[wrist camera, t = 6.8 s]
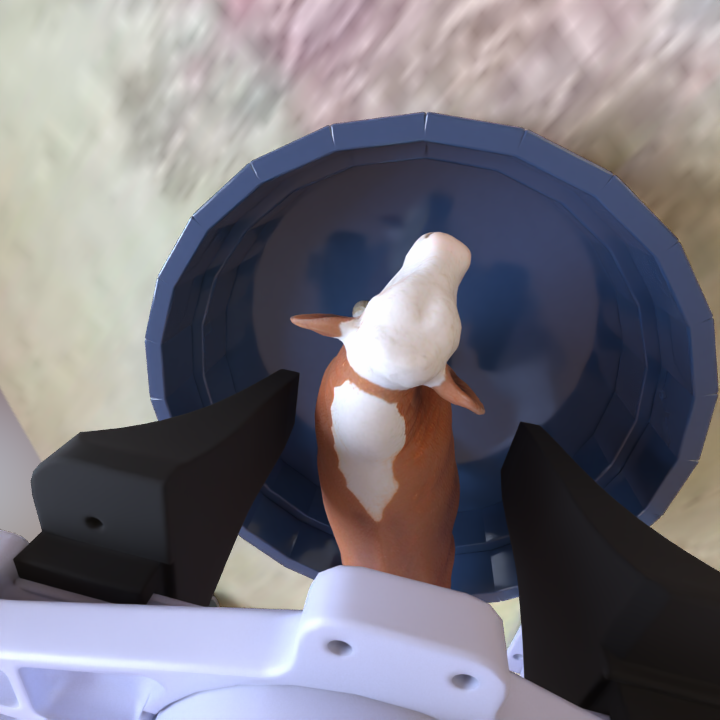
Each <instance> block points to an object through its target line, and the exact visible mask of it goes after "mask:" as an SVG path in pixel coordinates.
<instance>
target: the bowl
mask: <svg viewBox="0 0 720 720" xmlns="http://www.w3.org/2000/svg"><path fill="white" fill-rule="evenodd" d="M431 232H442V233H446V234H448V235H451V236H452V237H454V238H456V239H457V240H459V241H460V242H462V243H463V244H464V245H465V246H467V248H468V249H469V250H470V252H471V263H470V266H469V269H468V270H467V271H466V273H465V275H464V277H463V279H462V281H461V283H460V284H459V286H458V290H457V310H458V314H459V317H460V320H461V327H462V329H461V335H460V341H459V346H458V347H457V349H456V351H455V352H454V353H453V354H452V356H451V357H450V358H449V360H448V361H447V364H448V365H449V366H450V367H451V368H452V370H453V371H454V372H455V374H456V375H457V376H458V377H459V378H460V379H461V380H463V381H464V382H465V383H466V384H467V385H468V386H469V387H470V388H471V389H472V390H473V392H474V393H475V394H476V396H477V397H478V398H479V400H480V402H481V403H482V404H483V406H484V409H485V413H484V414H482V415H478V414H476V413H474V412H472V411H471V410H469V409H467V408H465V407H462V406H458V405H455V404H452V403H451V409H452V432H453V438H454V451H455V461H456V465H457V469H458V475H459V483H460V499H459V507H458V511H457V516H456V519H455V522H454V526H453V530H452V534H453V537H454V543H455V556H454V564H453V568H452V575H451V588H450V589H452V590H456V591H460V592H464V593H467V594H469V595H471V596H473V597H476V598H478V599H480V600H482V601H484V602H486V603H492V602H500V600H501V601H505V600H509V599H512V598H516V597H519V590H518V579H517V572H516V566H515V561H514V556H513V551H512V546H511V541H510V536H509V532H508V527H507V522H506V517H505V512H504V507H503V501H502V491H501V468H502V466H503V463H504V461H505V458H506V456H507V453H508V451H509V448H510V446H511V444H512V441H513V439H514V436H515V434H516V431H517V429H518V426H519V424H520V421H522V422H526V423H531V424H535V425H540V426H541V427H542V428H543V429H544V430H545V431H546V432H547V433H548V434H549V435H550V436H551V437H552V438H553V439H554V440H555V441H556V442H557V443H558V444H559V445H560V446H561V447H562V448H563V449H564V450H565V452H566V453H567V454H568V455H569V456H570V457H571V458H572V459H573V460H574V461H575V462H576V463H577V464H578V465H579V466H580V467H581V468H582V469H583V470H584V471H585V472H586V473H587V474H588V475H589V476H590V477H591V478H592V479H593V480H594V481H595V482H596V483H597V484H598V485H599V486H601V487H602V488H603V489H604V490H605V491H606V492H607V493H608V494H609V495H610V496H612V497H613V498H614V499H615V500H616V501H617V502H619V503H620V504H621V505H622V506H623V507H625V508H626V509H627V510H628V511H630V512H631V513H632V514H633V515H635V516H636V517H637V518H638V519H640V520H641V521H642V522H644V523H645V524H646V525H648V526H649V527H650V526H651V525H652V524H653V523H654V522H656V521H657V520H658V519H659V518H660V517H661V516H662V515H663V514H664V513H665V511H666V510H667V508H668V507H669V505H670V504H671V502H672V501H673V499H674V498H675V496H676V495H677V493H678V492H679V491H680V489H681V488H682V486H683V485H684V483H685V482H686V480H687V479H688V477H689V476H690V474H691V473H692V471H693V470H694V468H695V467H696V465H697V464H698V460H699V459H700V456H701V453H702V449H703V446H704V442H705V439H706V435H707V432H708V428H709V425H710V422H711V418H712V415H713V411H714V408H715V404H716V401H717V397H718V394H717V393H718V377H717V361H716V345H715V329H714V319H713V318H712V317H713V314H712V312H711V310H710V308H709V305H708V303H707V301H706V299H705V297H704V294H703V292H702V290H701V288H700V285H699V283H698V281H697V279H696V276H695V274H694V272H693V270H692V268H691V265H690V263H689V261H688V259H687V256H686V254H685V252H684V250H683V248H682V245H681V243H680V242H678V238H677V237H676V236H675V235H674V234H673V233H672V232H671V231H670V230H669V229H668V228H667V227H666V226H665V225H664V224H663V223H662V222H661V221H660V220H659V219H658V218H657V217H656V216H655V215H654V214H653V212H652V211H651V210H650V209H649V208H648V207H647V206H646V205H645V204H644V203H643V202H642V201H641V200H640V199H639V198H638V197H637V196H636V195H635V194H634V193H633V192H632V191H631V190H630V189H629V188H628V187H627V186H626V185H625V184H624V183H623V182H622V181H621V179H620V178H619V177H618V176H616V175H613V173H612V172H610V171H608V170H607V169H605V168H603V167H601V166H599V165H597V164H595V163H593V162H591V161H589V160H587V159H585V158H583V157H581V156H579V155H577V154H575V153H573V152H571V151H570V150H568V149H566V148H564V147H562V146H560V145H558V144H556V143H554V142H552V141H550V140H548V139H546V138H544V137H542V136H540V135H538V134H536V133H534V132H533V131H531V130H525V129H524V128H522V127H516V126H510V125H504V124H498V123H492V122H486V121H480V120H474V119H468V118H462V117H456V116H450V115H444V114H439V113H433V112H428V113H427V114H426V113H425V112H419V113H411V114H404V115H396V116H389V117H381V118H374V119H366V120H359V121H351V122H344V123H336V124H332V125H331V126H325V127H323V128H321V129H319V130H317V131H315V132H313V133H310V134H308V135H306V136H304V137H302V138H300V139H297V140H295V141H293V142H291V143H289V144H287V145H285V146H282V147H280V148H278V149H276V150H274V151H272V152H270V153H267V154H265V155H263V156H261V157H259V158H257V159H255V160H252V161H251V163H248V164H247V165H246V166H245V167H244V168H242V169H241V170H240V171H239V172H238V173H237V174H236V175H235V176H234V177H233V178H232V179H231V180H229V181H228V182H227V183H226V184H225V185H224V186H223V187H222V188H221V189H220V190H219V191H218V192H216V193H215V194H214V195H213V196H212V197H211V198H210V199H209V200H208V201H207V202H206V203H205V204H203V205H202V206H201V207H200V208H199V209H198V210H197V211H196V212H195V213H194V214H193V216H192V217H190V219H189V221H188V223H187V225H186V226H185V228H184V230H183V232H182V234H181V235H180V237H179V239H178V241H177V242H176V244H175V246H174V248H173V250H172V251H171V253H170V255H169V257H168V259H167V260H166V262H165V264H164V266H163V268H162V269H161V271H160V273H159V275H158V278H157V282H156V287H155V292H154V296H153V301H152V306H151V311H150V316H149V321H148V326H147V331H146V336H145V338H146V340H145V347H146V359H147V370H148V381H149V393H150V397H151V402H152V405H153V408H154V410H155V413H156V416H157V419H158V421H161V420H164V419H168V418H172V417H175V416H179V415H183V414H186V413H189V412H192V411H195V410H198V409H201V408H204V407H207V406H209V405H212V404H214V403H216V402H219V401H221V400H223V399H225V398H227V397H229V396H232V395H234V394H236V393H238V392H240V391H242V390H244V389H246V388H248V387H250V386H251V385H253V384H255V383H257V382H259V381H261V380H262V379H264V378H266V377H268V376H269V375H271V374H273V373H275V372H277V371H278V370H280V369H286V370H290V371H295V372H299V373H300V376H299V386H298V395H297V405H296V415H295V424H294V426H293V429H292V431H291V434H290V436H289V439H288V441H287V443H286V446H285V448H284V450H283V452H282V453H281V455H280V457H279V459H278V460H277V462H276V464H275V466H274V467H273V469H272V471H271V472H270V474H269V476H268V478H267V479H266V481H265V483H264V484H263V486H262V488H261V490H260V491H259V493H258V495H257V496H256V498H255V500H254V502H253V504H252V506H251V508H250V509H249V511H248V514H247V516H246V518H245V520H244V523H243V525H242V527H241V529H240V532H239V534H238V535H239V536H240V537H241V538H243V539H244V540H246V541H247V542H249V543H250V544H252V545H253V546H255V547H256V548H258V549H259V550H261V551H262V552H264V553H265V554H267V555H268V556H269V557H271V558H272V559H274V560H275V561H277V562H278V563H280V564H281V565H283V566H284V567H286V568H289V569H291V570H293V571H295V572H298V573H300V574H302V575H304V576H307V577H309V578H311V579H313V580H315V578H316V576H317V575H318V573H320V572H323V571H325V570H328V569H331V568H333V567H336V566H339V565H342V560H341V553H340V550H339V547H338V544H337V542H336V539H335V536H334V534H333V531H332V528H331V526H330V523H329V520H328V517H327V514H326V511H325V507H324V503H323V498H322V492H321V486H320V480H319V474H318V467H317V454H318V446H317V439H316V432H315V409H316V403H317V397H318V393H319V389H320V385H321V381H322V378H323V375H324V372H325V370H326V369H327V367H328V365H329V364H330V362H331V361H332V360H333V359H334V358H335V357H336V356H337V355H338V353H339V351H340V349H341V348H342V346H343V342H342V341H341V340H339V339H337V338H333V337H328V336H323V335H321V334H319V333H317V332H315V331H312V330H310V329H306V328H302V327H299V326H297V325H295V324H294V323H292V321H291V320H290V318H291V317H292V316H296V315H301V314H334V315H339V316H345V317H353V314H352V312H353V308H354V306H355V304H356V303H357V302H359V301H370V300H371V299H372V298H373V297H374V296H376V295H378V294H380V293H381V292H382V290H383V289H384V288H385V287H386V285H387V284H388V283H389V282H390V281H391V279H392V278H393V277H394V276H395V275H396V274H397V273H398V272H399V271H400V270H401V268H402V267H403V264H404V261H405V257H406V255H407V254H408V252H409V251H410V249H411V248H412V246H413V245H414V243H415V242H416V241H417V240H418V239H419V238H420V237H421V236H422V235H424V234H427V233H431Z"/></svg>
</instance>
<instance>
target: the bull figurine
mask: <svg viewBox="0 0 720 720" xmlns="http://www.w3.org/2000/svg"><path fill="white" fill-rule="evenodd" d="M470 263H471V252H470V250H469V249H468V248H467V246H465V245H464V244H463V243H462V242H460V241H459V240H457V239H456V238H454V237H452V236H451V235H448V234H446V233H442V232H431V233H427V234H424V235H422V236H421V237H420V238H419V239H418V240H417V241H416V242H415V243H414V245H413V246H412V248H411V249H410V251H409V252H408V254H407V255H406V257H405V261H404V264H403V267H402V268H401V270H400V271H399V272H398V273H397V274H396V275H395V276H394V277H393V278H392V279H391V281H390V282H389V283H388V284H387V285H386V287H385V288H384V289H383V290H382V292H381V293H380V294H378V295H376V296H374V297H373V298H372V299H371V300H370V301H359V302H357V303H356V304H355V306H354V308H353V312H352V314H353V317H345V316H339V315H334V314H301V315H296V316H292V317H291V318H290V320H291V321H292V323H294V324H295V325H297V326H299V327H302V328H306V329H310V330H312V331H315V332H317V333H319V334H321V335H323V336H328V337H333V338H337V339H339V340H341V341H342V342H343V346H342V348H341V349H340V351H339V353H338V355H337V356H336V357H335V358H334V359H333V360H332V361H331V362H330V364H329V365H328V367H327V369H326V370H325V372H324V375H323V378H322V381H321V385H320V389H319V393H318V397H317V403H316V409H315V432H316V439H317V446H318V454H317V467H318V474H319V480H320V486H321V492H322V498H323V503H324V507H325V511H326V514H327V517H328V520H329V523H330V526H331V528H332V531H333V534H334V536H335V539H336V542H337V544H338V547H339V550H340V553H341V560H342V565H346V566H360V567H365V568H369V569H373V570H377V571H381V572H385V573H389V574H393V575H397V576H401V577H405V578H409V579H413V580H417V581H420V582H424V583H428V584H432V585H436V586H440V587H444V588H448V589H450V588H451V575H452V568H453V564H454V556H455V543H454V537H453V534H452V530H453V526H454V522H455V519H456V516H457V511H458V507H459V499H460V483H459V475H458V469H457V465H456V461H455V451H454V438H453V432H452V409H451V403H452V404H455V405H458V406H462V407H465V408H467V409H469V410H471V411H472V412H474V413H476V414H478V415H482V414H484V413H485V409H484V406H483V404H482V403H481V402H480V400H479V398H478V397H477V396H476V394H475V393H474V392H473V390H472V389H471V388H470V387H469V386H468V385H467V384H466V383H465V382H464V381H463V380H461V379H460V378H459V377H458V376H457V375H456V374H455V372H454V371H453V370H452V368H451V367H450V366H449V365H448V364H447V361H448V360H449V358H450V357H451V356H452V354H453V353H454V352H455V351H456V349H457V347H458V346H459V341H460V335H461V329H462V327H461V320H460V317H459V314H458V310H457V290H458V286H459V284H460V283H461V281H462V279H463V277H464V275H465V273H466V271H467V270H468V269H469V266H470Z"/></svg>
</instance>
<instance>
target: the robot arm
mask: <svg viewBox="0 0 720 720" xmlns="http://www.w3.org/2000/svg"><path fill="white" fill-rule="evenodd" d="M299 376H300V373H299V372H295V371H290V370H286V369H280V370H278V371H277V372H275V373H273V374H271V375H269V376H268V377H266V378H264V379H262V380H261V381H259V382H257V383H255V384H253V385H251V386H250V387H248V388H246V389H244V390H242V391H240V392H238V393H236V394H234V395H232V396H229V397H227V398H225V399H223V400H221V401H219V402H216V403H214V404H212V405H209V406H207V407H204V408H201V409H198V410H195V411H192V412H189V413H186V414H183V415H179V416H175V417H172V418H168V419H164V420H161V421H156V422H151V423H147V424H142V425H136V426H130V427H124V428H117V429H108V430H98V431H89V432H80V433H79V434H77V435H76V436H75V437H73V438H72V439H71V440H69V441H68V442H67V443H66V444H64V445H63V446H62V447H61V448H59V449H58V450H57V451H56V452H54V453H53V454H52V455H50V456H49V457H48V458H47V459H45V460H44V461H43V462H42V463H40V464H39V465H38V467H37V468H36V469H35V470H34V471H33V474H32V478H31V488H32V495H33V499H34V503H35V507H36V510H37V514H38V517H39V521H40V524H41V529H42V532H41V533H40V534H39V535H38V536H37V537H36V538H35V539H34V540H33V541H32V542H31V543H28V541H27V540H26V539H25V538H23V537H22V536H20V535H18V534H15V533H12V532H9V531H5V530H1V529H0V720H720V572H719V571H717V570H716V569H714V568H712V567H710V566H709V565H707V564H706V563H704V562H702V561H701V560H699V559H697V558H696V557H694V556H692V555H691V554H689V553H687V552H686V551H684V550H683V549H681V548H680V547H678V546H677V545H675V544H674V543H672V542H671V541H669V540H668V539H666V538H665V537H663V536H662V535H661V534H659V533H658V532H656V531H655V530H653V529H652V528H651V527H649V526H648V525H646V524H645V523H644V522H642V521H641V520H640V519H638V518H637V517H636V516H635V515H633V514H632V513H631V512H630V511H628V510H627V509H626V508H625V507H623V506H622V505H621V504H620V503H619V502H617V501H616V500H615V499H614V498H613V497H612V496H610V495H609V494H608V493H607V492H606V491H605V490H604V489H603V488H602V487H601V486H599V485H598V484H597V483H596V482H595V481H594V480H593V479H592V478H591V477H590V476H589V475H588V474H587V473H586V472H585V471H584V470H583V469H582V468H581V467H580V466H579V465H578V464H577V463H576V462H575V461H574V460H573V459H572V458H571V457H570V456H569V455H568V454H567V453H566V452H565V450H564V449H563V448H562V447H561V446H560V445H559V444H558V443H557V442H556V441H555V440H554V439H553V438H552V437H551V436H550V435H549V434H548V433H547V432H546V431H545V430H544V429H543V428H542V427H541V426H540V425H535V424H531V423H526V422H522V421H520V424H519V426H518V429H517V431H516V434H515V436H514V439H513V441H512V444H511V446H510V448H509V451H508V453H507V456H506V458H505V461H504V463H503V466H502V468H501V491H502V501H503V507H504V512H505V517H506V522H507V527H508V532H509V536H510V541H511V546H512V551H513V556H514V561H515V566H516V572H517V579H518V590H519V601H520V613H521V626H520V627H519V629H518V631H517V633H516V635H515V636H514V638H513V640H512V642H511V644H510V646H509V647H508V649H507V650H506V643H505V635H504V628H503V621H502V619H501V618H500V616H499V615H498V614H497V613H496V612H495V610H494V609H493V608H492V607H491V605H490V604H488V603H486V602H484V601H482V600H480V599H478V598H476V597H473V596H471V595H469V594H467V593H464V592H460V591H456V590H452V589H448V588H444V587H440V586H436V585H432V584H428V583H424V582H420V581H417V580H413V579H409V578H405V577H401V576H397V575H393V574H389V573H385V572H381V571H377V570H373V569H369V568H365V567H360V566H346V565H339V566H336V567H333V568H331V569H328V570H325V571H323V572H320V573H318V575H317V576H316V578H315V580H314V581H313V583H312V584H311V586H310V589H309V592H308V596H307V599H306V602H305V606H304V609H303V610H288V609H258V608H229V607H209V604H210V601H211V599H212V596H213V594H214V591H215V589H216V586H217V584H218V582H219V579H220V577H221V574H222V572H223V569H224V567H225V564H226V562H227V560H228V557H229V555H230V553H231V550H232V548H233V545H234V543H235V541H236V538H237V536H238V534H239V532H240V529H241V527H242V525H243V523H244V520H245V518H246V516H247V514H248V511H249V509H250V508H251V506H252V504H253V502H254V500H255V498H256V496H257V495H258V493H259V491H260V490H261V488H262V486H263V484H264V483H265V481H266V479H267V478H268V476H269V474H270V472H271V471H272V469H273V467H274V466H275V464H276V462H277V460H278V459H279V457H280V455H281V453H282V452H283V450H284V448H285V446H286V443H287V441H288V439H289V436H290V434H291V431H292V429H293V426H294V424H295V415H296V405H297V395H298V386H299ZM511 671H512V672H511ZM513 672H516V673H519V674H520V675H521V676H519V675H517V674H515V673H513Z"/></svg>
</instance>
